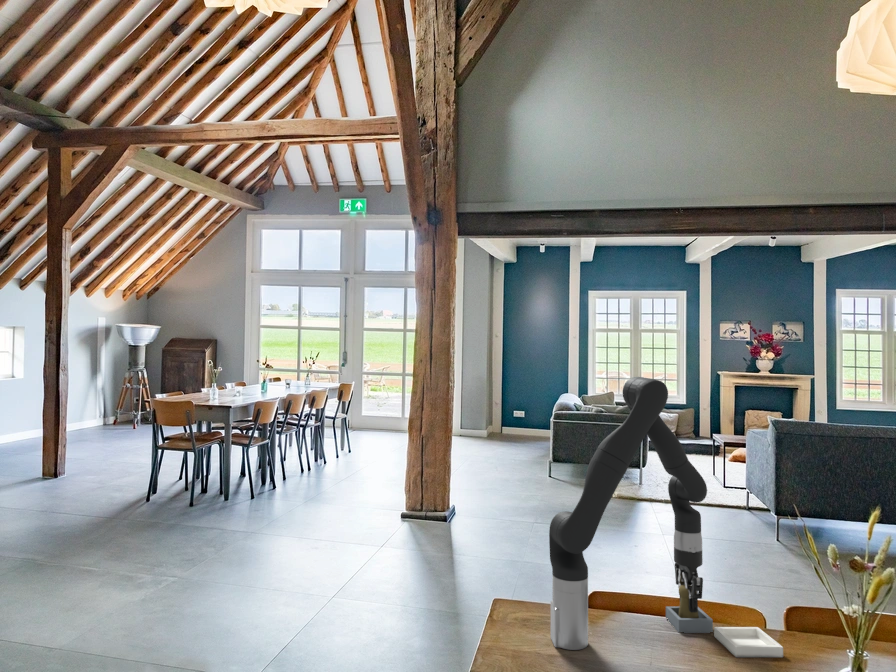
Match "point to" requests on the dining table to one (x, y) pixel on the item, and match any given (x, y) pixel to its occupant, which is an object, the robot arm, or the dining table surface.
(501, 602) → the dining table surface
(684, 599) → the cork
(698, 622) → the box
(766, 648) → the tray
